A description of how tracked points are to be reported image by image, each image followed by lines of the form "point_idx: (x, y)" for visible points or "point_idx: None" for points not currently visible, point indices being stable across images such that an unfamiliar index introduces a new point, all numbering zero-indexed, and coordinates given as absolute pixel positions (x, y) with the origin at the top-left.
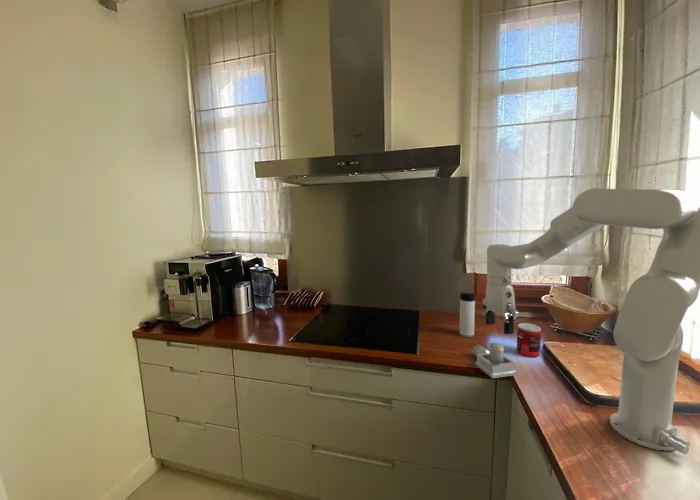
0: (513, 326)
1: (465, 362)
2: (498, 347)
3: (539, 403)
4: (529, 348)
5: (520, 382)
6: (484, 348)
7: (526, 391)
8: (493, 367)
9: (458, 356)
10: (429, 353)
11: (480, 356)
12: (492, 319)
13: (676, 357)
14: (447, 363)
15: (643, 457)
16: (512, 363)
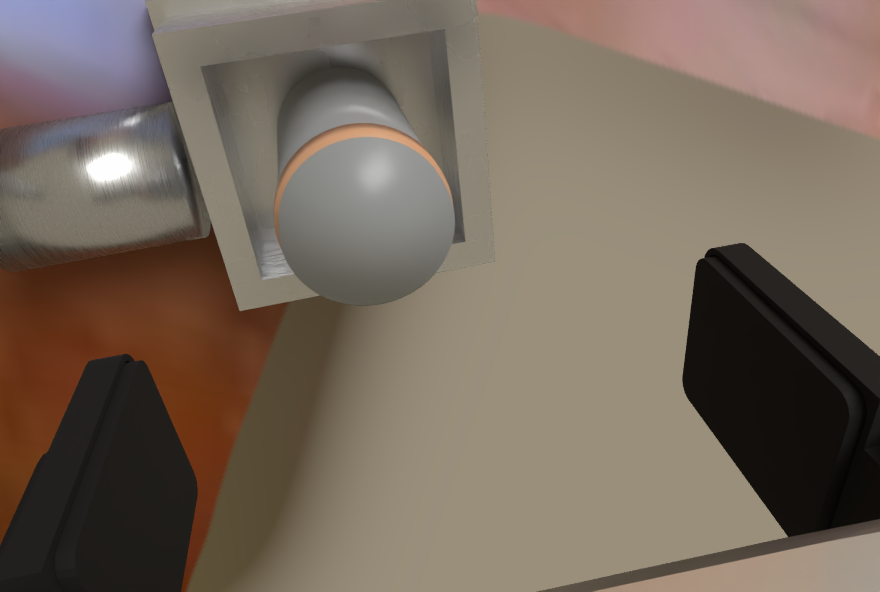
0: (828, 318)
1: (198, 332)
2: (431, 237)
3: (839, 50)
4: None
5: (581, 18)
6: (82, 192)
7: (700, 52)
8: (492, 250)
9: (72, 356)
10: None
11: (288, 296)
12: (134, 478)
13: None
14: (223, 456)
15: None
16: (473, 38)
